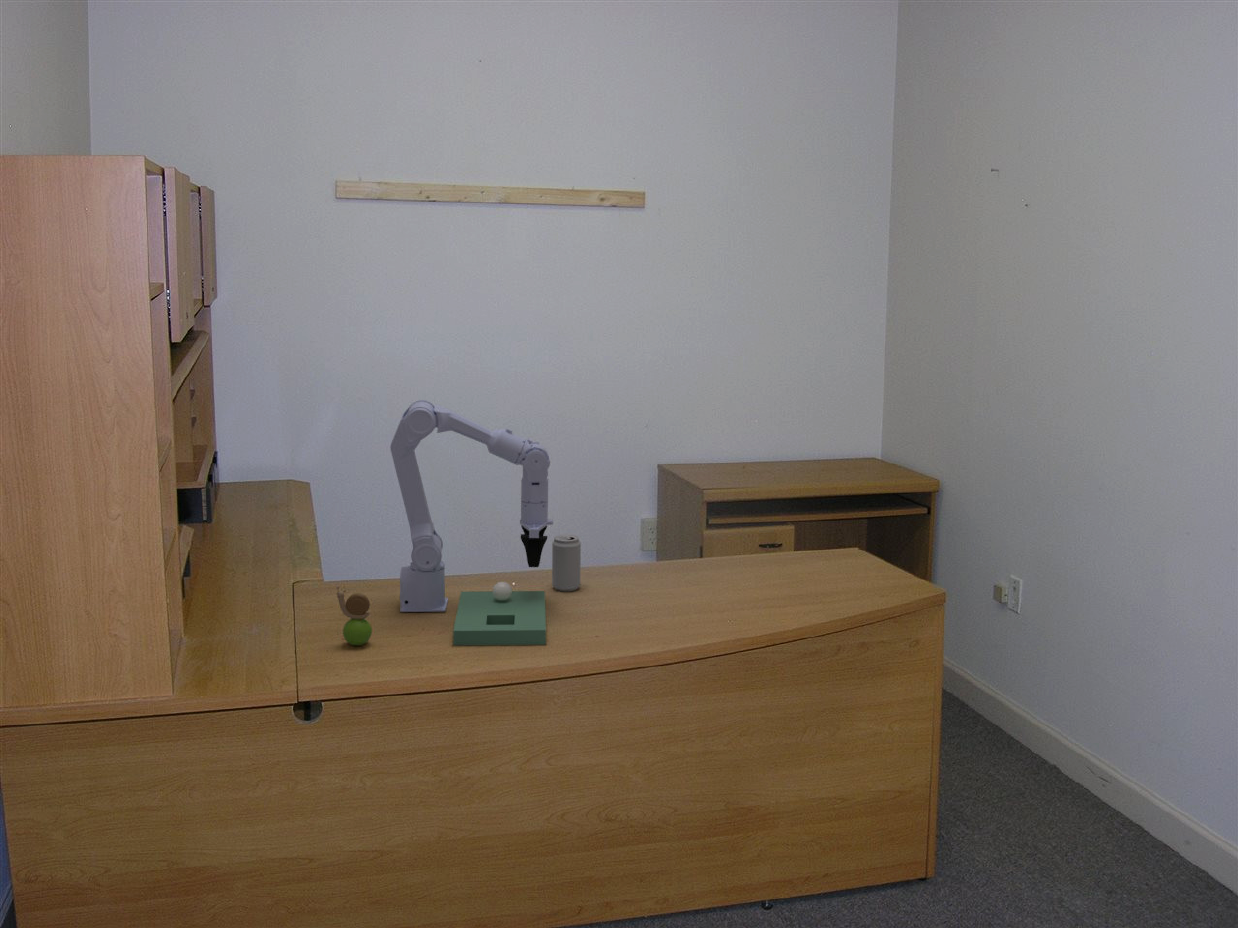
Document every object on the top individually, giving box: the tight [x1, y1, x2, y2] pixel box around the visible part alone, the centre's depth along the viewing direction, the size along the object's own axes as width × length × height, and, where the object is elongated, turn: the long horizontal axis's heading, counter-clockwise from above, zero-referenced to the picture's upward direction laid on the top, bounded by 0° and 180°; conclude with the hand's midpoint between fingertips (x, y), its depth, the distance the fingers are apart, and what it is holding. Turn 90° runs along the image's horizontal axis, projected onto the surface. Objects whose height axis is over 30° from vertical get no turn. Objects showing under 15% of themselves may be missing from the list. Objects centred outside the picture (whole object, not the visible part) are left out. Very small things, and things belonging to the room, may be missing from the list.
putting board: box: [452, 590, 547, 646], centre depth 226 cm, size 18×24×3 cm
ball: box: [492, 581, 513, 601], centre depth 231 cm, size 4×4×4 cm
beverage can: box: [551, 534, 582, 592], centre depth 248 cm, size 6×6×12 cm
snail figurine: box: [335, 584, 373, 646], centre depth 212 cm, size 5×6×12 cm
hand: (533, 561), depth 236 cm, fingers open, 7 cm apart
